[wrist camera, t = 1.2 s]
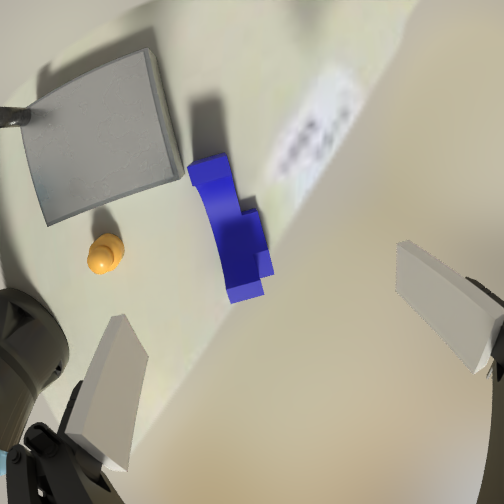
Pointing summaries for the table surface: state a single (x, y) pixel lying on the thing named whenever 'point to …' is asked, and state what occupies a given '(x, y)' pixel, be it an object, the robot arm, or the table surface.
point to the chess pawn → (105, 253)
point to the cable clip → (232, 229)
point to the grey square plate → (98, 137)
